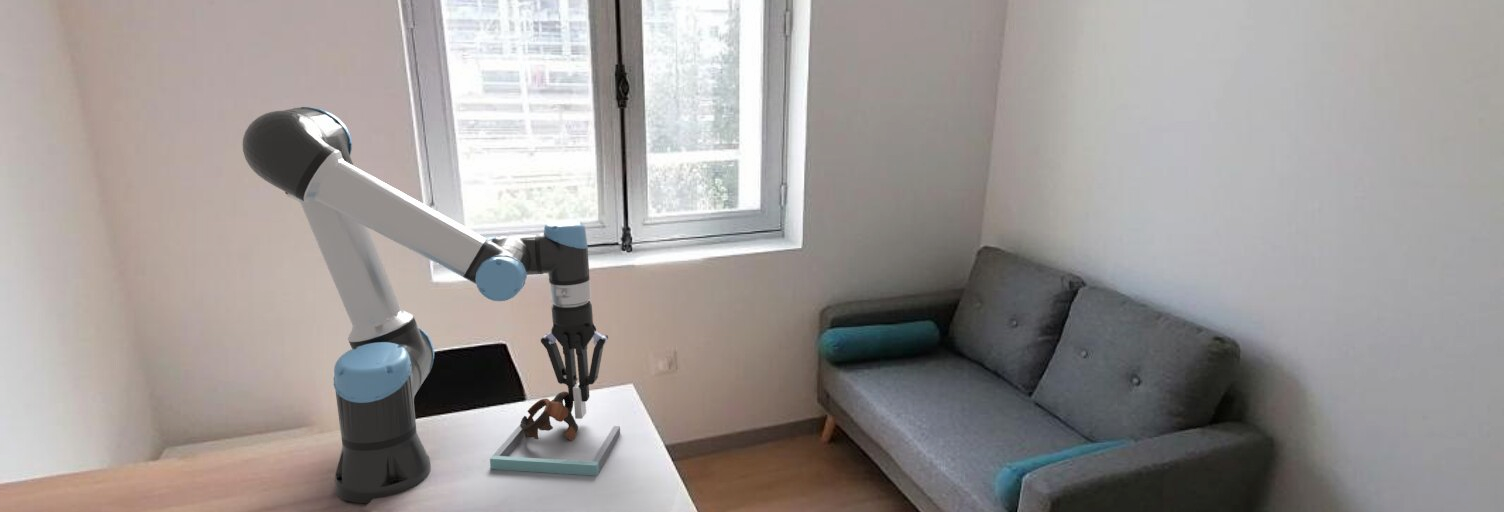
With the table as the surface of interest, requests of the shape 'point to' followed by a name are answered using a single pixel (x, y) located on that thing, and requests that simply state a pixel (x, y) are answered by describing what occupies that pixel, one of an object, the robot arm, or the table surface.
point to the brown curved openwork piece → (551, 410)
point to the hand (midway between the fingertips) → (580, 415)
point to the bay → (550, 465)
